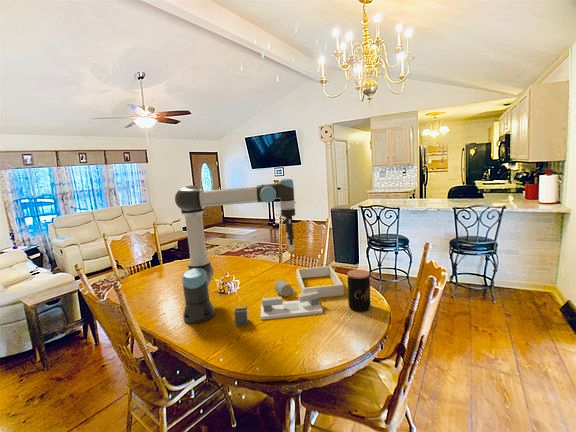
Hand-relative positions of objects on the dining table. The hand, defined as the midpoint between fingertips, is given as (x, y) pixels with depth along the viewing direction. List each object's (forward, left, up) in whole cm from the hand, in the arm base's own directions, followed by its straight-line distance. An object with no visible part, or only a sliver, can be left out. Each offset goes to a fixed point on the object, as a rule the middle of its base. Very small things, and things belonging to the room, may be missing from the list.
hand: (290, 247), depth 171 cm
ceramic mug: (-4, +4, -28) cm, 29 cm away
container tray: (+16, +11, -28) cm, 34 cm away
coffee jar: (+31, -21, -28) cm, 47 cm away
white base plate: (-3, -16, -28) cm, 32 cm away
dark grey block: (-27, -24, -28) cm, 46 cm away
